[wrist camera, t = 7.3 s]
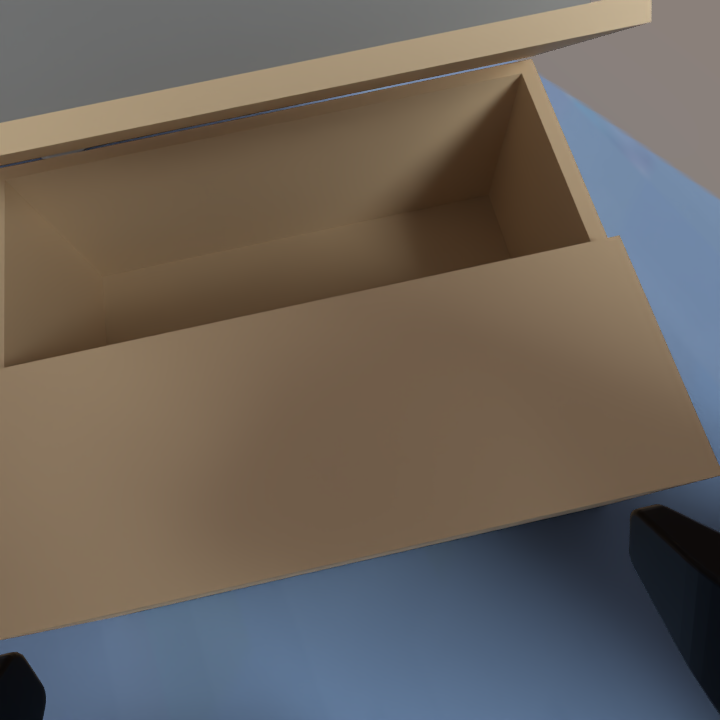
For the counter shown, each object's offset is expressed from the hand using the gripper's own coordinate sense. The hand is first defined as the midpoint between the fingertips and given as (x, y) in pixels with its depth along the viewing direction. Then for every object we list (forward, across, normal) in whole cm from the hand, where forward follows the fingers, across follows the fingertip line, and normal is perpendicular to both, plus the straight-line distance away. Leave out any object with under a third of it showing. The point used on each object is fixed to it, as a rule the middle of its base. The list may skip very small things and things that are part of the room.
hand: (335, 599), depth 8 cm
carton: (+14, 0, +4) cm, 15 cm away
